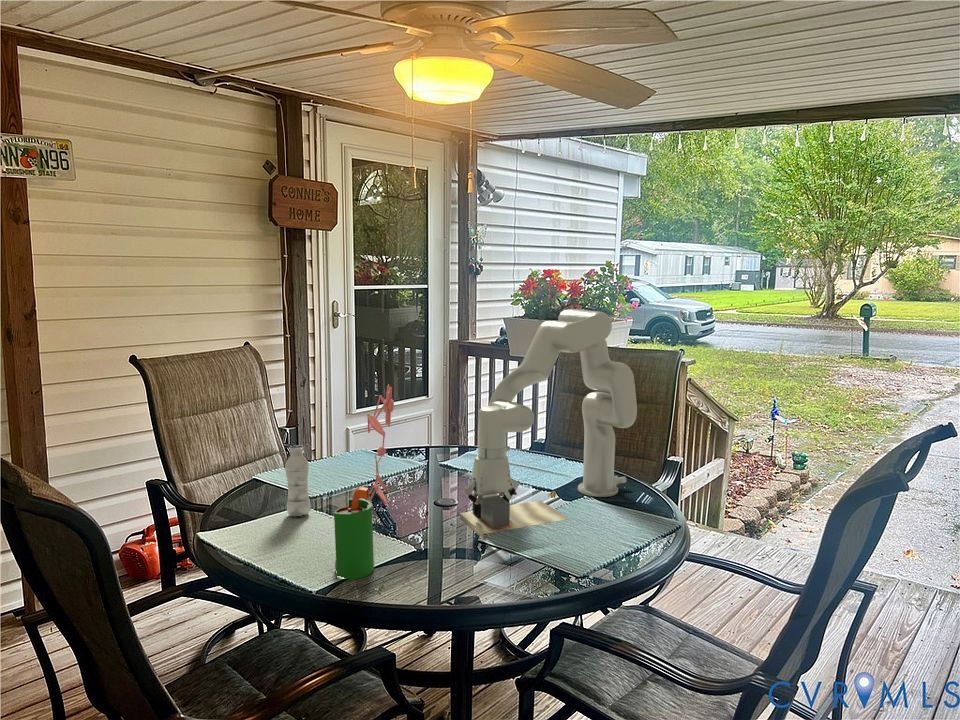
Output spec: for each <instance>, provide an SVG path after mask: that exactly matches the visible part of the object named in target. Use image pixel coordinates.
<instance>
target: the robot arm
mask: <svg viewBox="0 0 960 720" xmlns="http://www.w3.org/2000/svg"><path fill="white" fill-rule="evenodd" d="M557 318H558V319H557V320H547V321H544V322H542V323H541V324H540V325H539V326H538V329H537V331H536V332H535V335H534V337H533V339H532V341H531V343H530V345H529V347H528V350H527V351H526V354H525V356H524V357H523V359H522V362H521V363H520V365H519V366H518V367H516V368H515V369H514V370H512V371H511V372H510V373H508V375H506V377H504V378H503V379H502V380H501V381H500V382H499V383H498V384H497V386H496V388H495V390H493V391H494V392H493V393H492V396H491V398H490V399H489V402H488V404H487V406H482V407H481V408H479V410H478V417H477V419H478V420H477V423H478V425H477V426H478V427H477V456H475V457H474V460H473V463H472V464H473V465H472V471H471V481H470V483H468V484H467V485H466V486H465V487H463V489H462V492H463V493H464V495H465V496H466V497H467V499H469V500H470V501H471V502H472V511H473V514H474V515H475V516H476V517H477V518H478V519H479V518H481V504H480V503H479V502H480V500H481V499H482V497H483V495H490V494H499V493H502V494H503V495H502V496H501V497H502V498H503V499H505V500H506V501H507V502H509V503H510V504H511V502H510V501H511V499H513V497H511V496H512V495H513V496H514V495H515V494H514V493H515V492H517V491H516V490H517V489H518V488H519V486H520V482H519V481H517V480H516V479H514V478H513V477H511V468H510V461H509V456H508V455H507V452H510V451H511V447H510V446H509V445H507V439H506V438H507V433H523V432H525V431H528V430H529V429H530V428H531V427H532V426H533V424H534V422H535V414H534V412H533V410H532V409H531V408H530V407H528V406H527V405H524V404H520V403H516V402H514V401H513V400H514V399H515V397H516V396H517V395H518V394H519V393H520V392H521V391H522V390H524V389H525V388H528V387H530V386H533V385H536V384H538V383H541V382H543V381H546V380H548V378H549V377H550V375H551V373H552V370H553V368H554V366H555V364H556V362H557V359H558V358H559V356H560V354H561V353H571V354H575V353H579V356H580V363H581V371H582V379H583V383H584V385H585V386H586V387H587V388H589V389H590V390H595V391H592V392H589V393H588V394H586V395H585V396H584V398H583V400H582V403H581V412H582V418H583V426H584V432H583V433H584V434H583V435H584V437H583V439H584V441H583V468H582V469H583V470H582V471H583V472H582V476H583V477H582V482H580V483H579V484H578V485H577V490H578V492H579V493H581V494H582V495H585V496H589V497H595V498H603V497H604V498H607V497H612V496H615V495H617V494H618V493H619V488H618V486H617V485H619V484H625V483H627V477H626V476H618V475H615V455H616V453H615V452H616V435H615V431H614V428H618V429H627V428H630V427H631V426H633V425H634V423H635V422H636V420H637V414H638V405H637V403H638V402H637V395H636V394H637V393H636V384H635V377H634V372H633V371H632V369H631V368H630V366H629V365H627V364H626V363H624V362H620V361H613V360H611V359H610V355H609V349H608V342H607V338H608V337H609V336H610V334H611V332H612V327H613V323H612V322H613V321H612V319H611V317H610V316H609V315H608V314H607V313H606V312H603V311H599V310H598V311H597V310H586V309H579V308H578V309H575V308H570V309H569V308H568V309H565V310H562V311H561V312H560V313H559V315H558V316H557ZM613 427H614V428H613ZM511 483H512V486H510V485H511ZM517 487H518V488H517ZM471 491H472V492H473V494H472V493H471ZM474 492H475V493H474Z"/></svg>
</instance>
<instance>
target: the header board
mask: <svg viewBox="0 0 960 720" xmlns="http://www.w3.org/2000/svg"><path fill="white" fill-rule="evenodd" d="M459 519H460V520H461V521H462V522H463V523H465V524H466V526H468V527H469V528H470V529H471V530H472V531H473V532H474V533H476V534H477V535H478V536H479V537H480V538H481V539H482V540H488V539H489V537H488V536H486V535H487V534H491V533H492V534H493V533H497V532H498V533H499V532H504V531H509V530H516V529H520V528H527V527H532V526H537V525H543V524H544V525H545V524H549V523H556V522H561V521H567V520H569V517H567V516H565V515H564V514H563V513H561V512H559V511H557V510H556V509H555V508H553V507H552V506H550V505H548V504H547V503H545V502H543V501H542V500H535V501H529V502H522V503H516V504H510V523H509V526H506V527H500V528H494V529H492V528H491V527H490V526H489V525H488V524H486V523H485V522H484V521H483V520H482V519H480V518H479V519H478V518H477V517H476V516H475V515H474V514H473V510H471V511H465V512H459ZM485 534H486V535H485Z"/></svg>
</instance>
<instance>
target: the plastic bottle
mask: <svg viewBox="0 0 960 720" xmlns="http://www.w3.org/2000/svg"><path fill="white" fill-rule="evenodd" d="M304 453H305V450H304V445H299V444H297V445H291V446H289V457H288V459H286V462H285V464H284V469H285V475H286V481H287V482H286V483H287V501H286V511H287V514H288V516H290V515H291V516H290V517H292V516H301V517H303V516H302V515H305V516H307V515H308V514H309V513H310V512H311V506H312V504H311V499H310V495H309V488H308V487H309V483H308V482H309V481H308V479H309V467H310V463H309V461H308V459H307V458H306V457H305V456H304ZM306 514H307V515H306Z"/></svg>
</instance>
